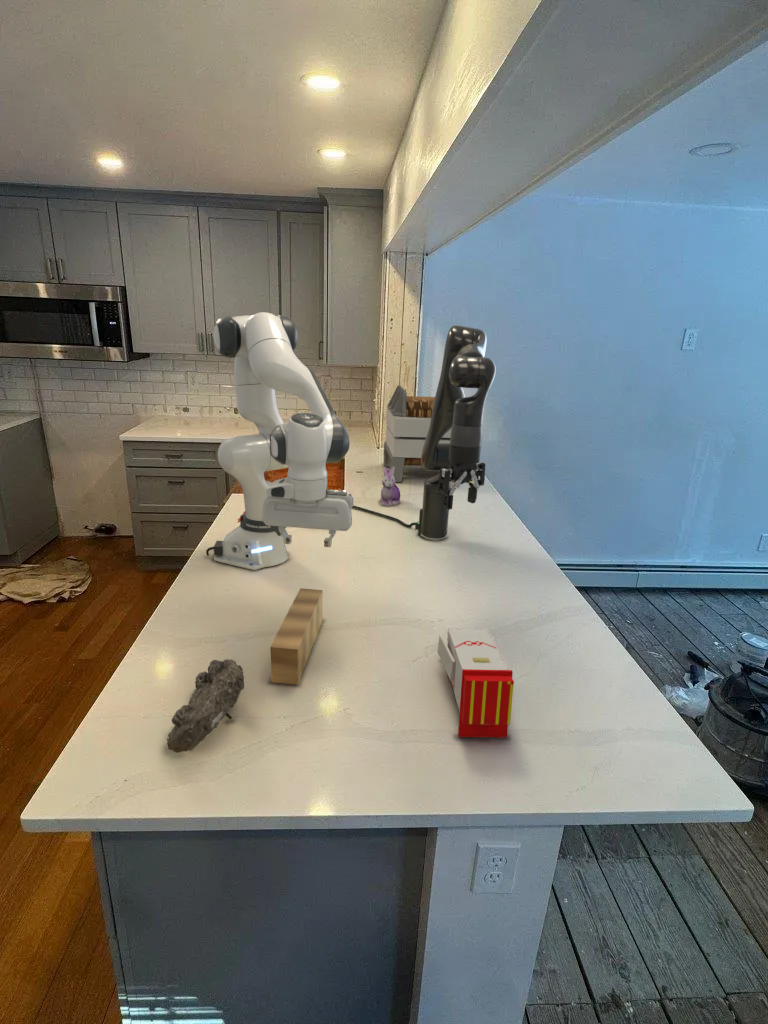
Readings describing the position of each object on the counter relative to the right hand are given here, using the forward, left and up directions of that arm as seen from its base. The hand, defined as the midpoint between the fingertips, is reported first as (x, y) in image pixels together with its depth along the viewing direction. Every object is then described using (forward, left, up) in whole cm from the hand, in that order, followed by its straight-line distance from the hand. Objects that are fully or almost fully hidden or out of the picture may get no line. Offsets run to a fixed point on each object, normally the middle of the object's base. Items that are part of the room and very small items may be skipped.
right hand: (459, 505), depth 142 cm
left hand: (-22, -32, -6) cm, 40 cm away
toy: (+21, -29, -29) cm, 46 cm away
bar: (-18, -40, -29) cm, 52 cm away
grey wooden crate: (-76, +106, -29) cm, 134 cm away
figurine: (-61, +60, -29) cm, 90 cm away
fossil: (-14, -67, -29) cm, 74 cm away
